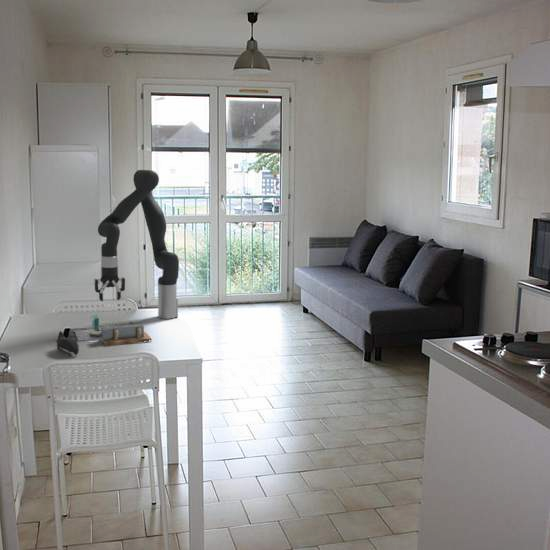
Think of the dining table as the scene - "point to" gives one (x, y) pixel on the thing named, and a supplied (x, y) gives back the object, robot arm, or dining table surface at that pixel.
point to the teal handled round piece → (95, 326)
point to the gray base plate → (90, 337)
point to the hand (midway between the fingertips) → (110, 300)
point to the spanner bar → (121, 331)
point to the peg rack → (127, 339)
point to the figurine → (67, 344)
